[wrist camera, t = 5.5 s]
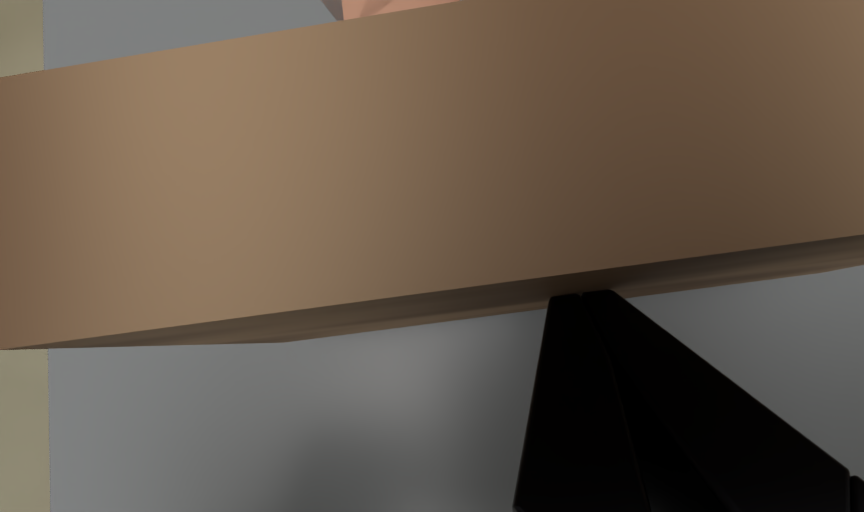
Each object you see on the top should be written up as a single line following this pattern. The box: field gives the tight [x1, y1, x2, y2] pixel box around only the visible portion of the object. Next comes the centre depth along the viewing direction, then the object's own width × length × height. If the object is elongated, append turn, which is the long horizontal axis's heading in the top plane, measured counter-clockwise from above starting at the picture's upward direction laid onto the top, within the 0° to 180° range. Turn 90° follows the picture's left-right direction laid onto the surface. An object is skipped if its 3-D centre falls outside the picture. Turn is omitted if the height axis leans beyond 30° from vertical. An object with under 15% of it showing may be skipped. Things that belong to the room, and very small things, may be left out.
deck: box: [43, 0, 864, 512], centre depth 15 cm, size 24×26×3 cm
